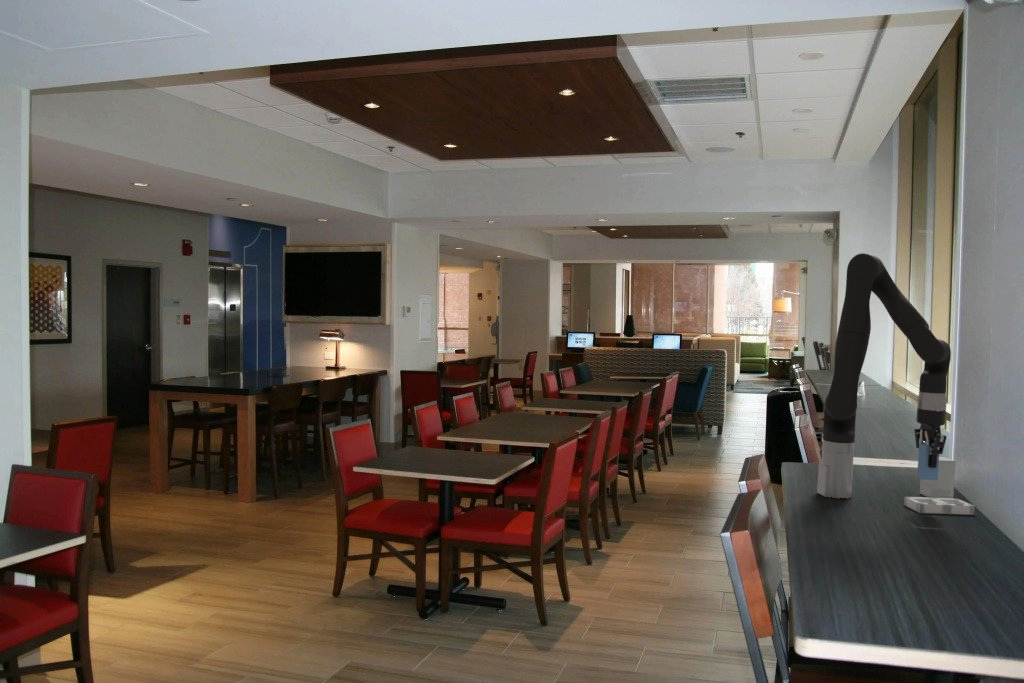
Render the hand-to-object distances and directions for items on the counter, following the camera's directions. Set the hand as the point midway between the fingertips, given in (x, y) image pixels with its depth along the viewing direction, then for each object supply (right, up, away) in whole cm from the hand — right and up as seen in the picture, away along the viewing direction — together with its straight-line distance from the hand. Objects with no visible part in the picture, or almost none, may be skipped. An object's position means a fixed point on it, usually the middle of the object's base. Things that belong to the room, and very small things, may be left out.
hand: (928, 465), depth 246 cm
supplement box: (+12, -13, +19) cm, 26 cm away
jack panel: (+3, -13, +1) cm, 14 cm away
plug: (0, -4, 0) cm, 4 cm away
